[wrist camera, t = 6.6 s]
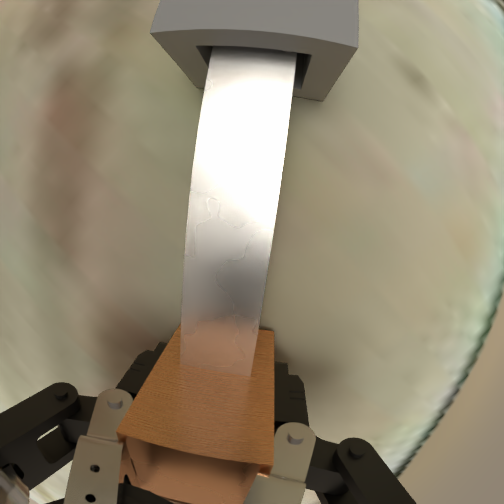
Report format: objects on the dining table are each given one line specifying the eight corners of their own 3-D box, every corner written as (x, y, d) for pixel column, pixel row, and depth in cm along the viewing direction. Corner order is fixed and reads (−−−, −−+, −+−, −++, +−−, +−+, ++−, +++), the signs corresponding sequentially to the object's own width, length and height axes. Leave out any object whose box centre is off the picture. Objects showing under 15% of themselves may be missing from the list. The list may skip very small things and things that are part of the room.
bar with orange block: (184, 448, 15) (157, 534, 8) (211, 72, 10) (145, -33, 3) (246, 458, 15) (236, 550, 8) (310, 82, 10) (355, -26, 3)
